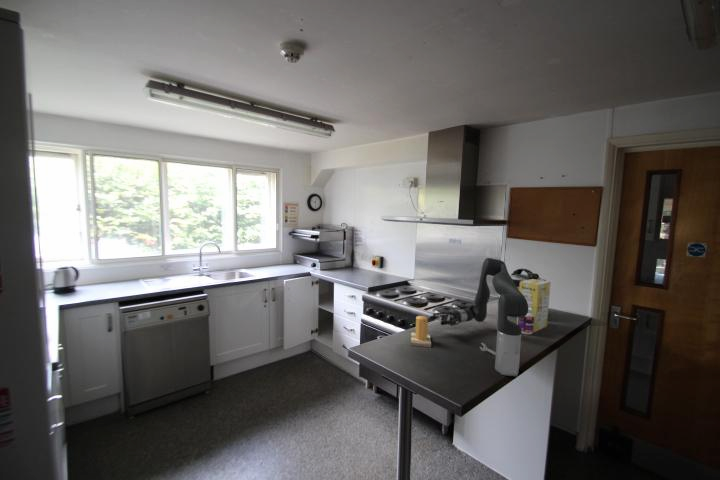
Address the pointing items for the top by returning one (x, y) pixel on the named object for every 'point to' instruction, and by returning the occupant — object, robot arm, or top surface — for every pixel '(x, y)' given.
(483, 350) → the combination wrench
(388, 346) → the top surface
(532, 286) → the pasta box
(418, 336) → the octagonal lidded canister
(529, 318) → the pill bottle
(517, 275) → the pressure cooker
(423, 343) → the post board
